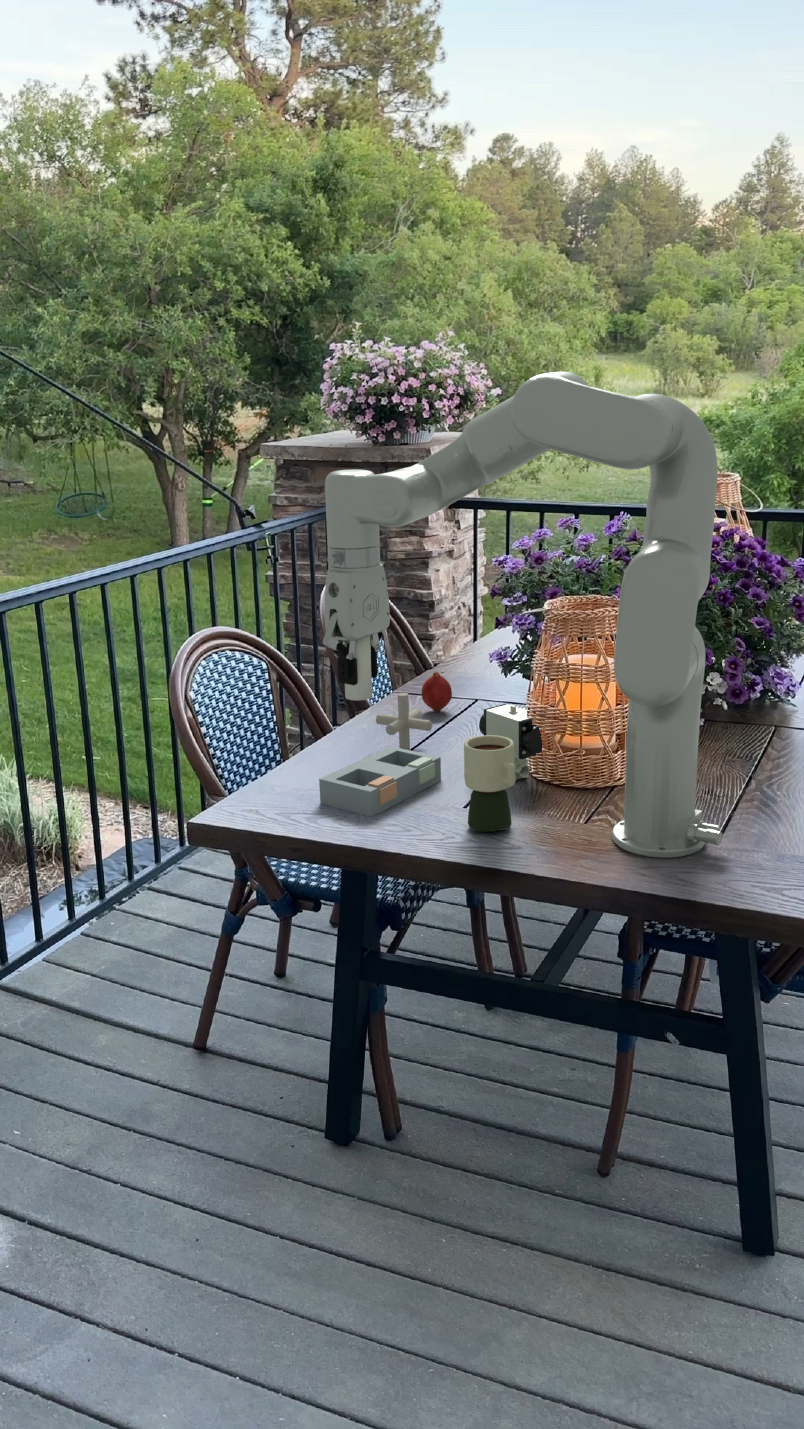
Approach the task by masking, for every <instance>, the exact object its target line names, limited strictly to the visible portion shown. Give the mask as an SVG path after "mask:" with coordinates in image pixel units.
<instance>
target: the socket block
mask: <svg viewBox="0 0 804 1429" xmlns="http://www.w3.org/2000/svg"><path fill="white" fill-rule="evenodd" d="M441 758H442V757H441V756H439V755H438V756H437V755H432V754H428V753H424V752H419V751H414V750H411V749H410V750H406V749H401V748H399V747H396V746H391V745H390V746H388V747H386V748H384V749H382V750H379V751H377V752H376V753H372V754H371V755H368V756H366V757H364V758H362V759H359V760H358V761H356V762H352V763H351V764H349V765H346V766H344V767H341V768H340V769H337V770H336V771H334V772H331V773H329V774H327V775H324V776H322V777H319V779H318V782H319V784H318V785H319V786H318V787H319V799H320V800H319V801H320V804H322V805H326V806H329V807H333V808H337V809H340V810H344V811H348V812H352V813H355V814H360V815H363V816H367V817H371V818H372V817H374V816H376V815H378V814H380V813H382V812H384V811H385V810H387V809H389V808H392V807H393V806H395V805H397V804H399V803H400V802H403V801H405V800H406V799H409V798H411V797H412V796H414V795H416V794H418V793H420V792H422V791H424V790H426V789H427V788H430V787H431V786H433V785H435V784H437V783H439V782H441V781H442V770H441V769H442V767H441V766H442V765H441V764H442V763H441V762H442V761H441Z"/></svg>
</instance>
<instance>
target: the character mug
mask: <svg viewBox="0 0 804 1429" xmlns="http://www.w3.org/2000/svg"><path fill="white" fill-rule="evenodd" d="M514 762H515V756H514V743H513V741H512V740H511V739H510V738H507V737H503V736H494V735H485V736H484V735H478V736H472V737H471V738H470V737H469V738H468V739H466V740H465V741H464V742H463V764H464V765H463V767H464V768H463V769H464V772H463V773H464V776H463V777H464V782H465V787H467V788H468V789H469V790H472V791H471V794H470V799H469V805H468V813H467V814H468V815H467V817H468V818H467V824H468V827H469V828H470V829H472V830H474V831H475V832H485V833H487V832H498V831H502V830H506V829H509V828H511V826H512V825H513V823H512V813H511V807H510V800H509V794H508V792H507V790H508V788H511V787H514V786H515V785H516V781H515V765H514ZM506 789H507V790H506Z"/></svg>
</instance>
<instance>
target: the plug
mask: <svg viewBox="0 0 804 1429" xmlns="http://www.w3.org/2000/svg"><path fill="white" fill-rule="evenodd" d="M343 644H344V645H345V646H346V648H347V641H343ZM353 658H356V659H357V675H358V683H357V684H356V685H349V684H344V696H345V697H344V698H345V699H346V700H350V701H366V700H370V699H371V698H372V697H373V688H372V687H373V686H372V685H373V684H372V679H373V678H372V677H371V647H370V636H367V637H364V638H360V639H357V640H355V649H354V657H353Z"/></svg>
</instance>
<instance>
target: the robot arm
mask: <svg viewBox="0 0 804 1429" xmlns="http://www.w3.org/2000/svg"><path fill="white" fill-rule="evenodd" d="M551 450H553V451H556V452H559V453H562V454H566V455H570V456H573V457H576V458H580V459H584V460H588V461H591V462H595V463H596V464H602V465H605V466H609V467H612V468H617V469H623V470H640V469H644V468H647V467H649V473H650V483H649V484H650V485H649V490H648V495H647V502H646V514H645V515H646V517H645V526H644V533H643V534H644V535H643V540H642V546H641V549H640V551H639V552H638V553H637V554H636V555H634V557H633V558H632V559H631V560H630V561H629V563H628V565H627V567H626V569H625V571H624V574H623V577H622V580H621V585H620V590H619V591H620V592H619V600H618V610H617V611H618V612H617V613H618V614H617V622H616V632H615V633H616V634H615V644H614V657H613V670H614V671H613V672H614V678H615V681H616V683H617V686H618V687H619V689H620V691H621V692H622V694H624V695H625V697H626V698H627V699H628V701H627V702H628V704H627V716H626V718H627V719H626V737H625V738H626V741H625V742H626V743H625V747H626V748H625V771H624V772H625V773H624V774H625V776H624V778H625V780H624V781H625V782H624V810H623V811H624V812H623V820H621V821H619V822H618V823H615V825H614V826H613V827H612V833H611V834H612V835H611V836H612V840H613V842H614V844H616V845H617V846H618V847H620V848H621V849H622V850H624V851H626V852H629V853H632V854H636V855H639V856H644V857H651V858H662V859H663V858H664V859H665V858H667V859H668V858H678V857H685V856H688V855H692V854H694V853H697V852H698V851H700V850H701V849H702V848H703V847H704V846H705V844H708V845H714V846H720V845H721V843H722V840H723V833H722V831H721V826H720V825H718V824H713V823H709V822H708V823H707V822H705V820H703V818H702V817H703V811H702V810H700V809H696V800H697V798H696V795H697V778H698V775H697V774H698V756H699V755H698V754H699V736H700V720H701V705H702V696H703V695H702V694H703V685H704V677H705V669H706V646H705V642H704V639H703V636H702V634H701V631H700V630H699V629H698V628H697V627H696V619H697V612H698V604H699V601H700V599H701V598H702V597H703V595H704V593H705V592H706V590H707V588H708V585H709V582H710V578H711V577H710V574H711V558H712V547H713V536H714V527H715V515H716V514H715V511H716V501H717V489H718V474H719V471H718V468H719V467H718V456H717V450H716V447H715V443H714V440H713V438H712V435H711V432H710V431H709V429H708V427H707V426H706V424H705V423H704V421H703V420H702V419H701V418H700V417H699V416H698V414H696V412H694V411H693V410H692V409H691V408H690V407H688V406H687V405H685V403H682V402H681V401H679V400H677V399H676V398H673V397H671V396H668V395H665V394H661V393H660V394H659V393H644V394H639V395H635V396H629V395H626V394H622V393H617V392H613V391H609V390H605V389H601V388H597V387H593V386H590V385H589V384H588V383H587V382H586V381H585V380H584V379H583V378H582V377H581V376H579V375H578V374H576V373H573V372H570V371H553V372H546V373H545V372H544V373H541V374H537V375H534V376H532V377H530V378H528V379H527V380H526V381H524V382H523V383H522V384H521V385H520V386H519V387H518V389H517V390H516V392H515V393H514V395H512V396H511V397H509V398H507V399H506V400H504V401H502V402H500V403H499V404H497V405H495V406H493V407H491V408H490V409H489V410H486V411H485V412H483V413H482V414H480V415H478V416H476V417H474V418H472V419H470V421H469V422H467V423H466V424H465V426H464V428H463V430H462V432H461V434H460V435H459V436H458V437H457V438H456V439H454V440H453V441H452V442H451V443H449V444H448V445H446V446H445V447H443V448H441V449H440V450H438V451H436V452H435V453H433V454H431V455H429V456H428V457H426V458H424V459H422V460H420V461H419V462H417V463H415V464H413V465H411V466H407V467H403V468H399V469H396V470H393V471H388V472H383V473H377V474H375V473H374V471H371V470H367V469H341V470H340V469H339V470H334V471H331V472H329V474H327V475H326V478H325V480H324V491H325V492H324V494H325V517H326V522H325V523H326V538H327V540H326V541H327V559H326V561H327V565H328V569H327V571H326V578H325V588H324V590H325V591H324V592H325V593H324V623H325V624H324V626H325V633H324V636H323V639H322V644H323V645H324V646H326V647H327V648H329V649H331V651H332V652H333V653H334V657H336V658H337V671H338V673H337V674H338V677H337V678H338V682H339V684H344V685H345V684H349V685H356V684H357V683H358V675H357V659H356V658H353V657H354V649H355V640H357V639H360V638H364V637H367V636H370V647H371V679H375V678H377V677H378V674H379V673H378V672H379V671H378V651H379V650H380V647H381V645H380V641H381V640H382V638H383V634H384V633H385V632H386V630H387V629H388V628H389V627H390V623H391V622H390V621H391V617H390V612H391V611H390V610H391V609H390V599H389V591H388V582H387V576H386V572H385V567H384V564H383V563H381V550H380V549H381V545H380V544H381V543H380V541H381V540H380V526H381V527H386V528H400V527H404V526H407V525H409V524H411V523H415V522H417V521H419V520H421V519H425V518H428V517H430V516H432V515H434V514H436V513H438V512H440V511H441V510H444V509H445V508H446V507H448V506H451V505H452V504H454V503H456V502H457V501H459V500H461V499H463V498H465V497H467V496H469V495H470V494H472V493H474V492H475V491H477V490H478V489H480V488H482V487H484V486H486V485H489V484H492V483H494V482H496V481H497V480H500V478H501V479H502V477H504V476H506V475H508V474H510V473H511V472H514V470H517V469H518V468H520V467H522V466H524V465H525V464H527V463H529V462H531V461H533V460H534V459H536V458H539V457H540V456H542V455H544V454H545V453H548V452H550V451H551ZM343 641H347V648H346V646H345V645H344V644H343Z"/></svg>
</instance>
